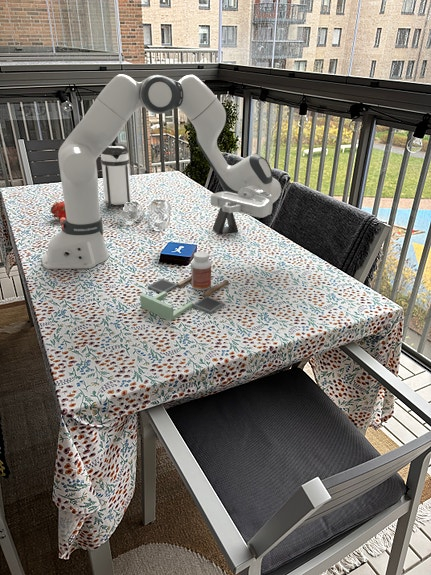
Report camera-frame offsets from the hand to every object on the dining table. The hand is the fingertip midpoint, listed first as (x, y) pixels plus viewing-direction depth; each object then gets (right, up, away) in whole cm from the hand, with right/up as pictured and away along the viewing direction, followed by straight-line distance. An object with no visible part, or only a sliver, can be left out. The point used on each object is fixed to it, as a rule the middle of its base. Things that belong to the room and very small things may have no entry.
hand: (225, 209), depth 139 cm
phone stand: (+1, -1, +45) cm, 45 cm away
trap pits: (-12, -26, -3) cm, 29 cm away
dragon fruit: (-67, +5, +52) cm, 85 cm away
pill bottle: (-8, -24, +2) cm, 25 cm away
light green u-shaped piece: (-17, -30, -10) cm, 36 cm away
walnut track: (-7, -23, +2) cm, 25 cm away
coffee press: (-50, +15, +72) cm, 89 cm away
